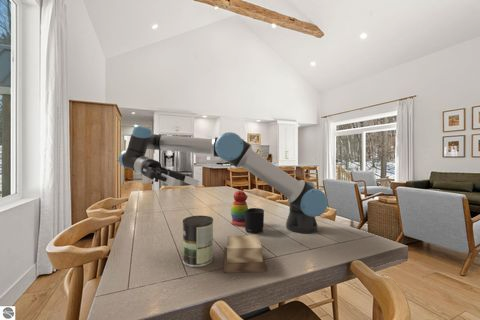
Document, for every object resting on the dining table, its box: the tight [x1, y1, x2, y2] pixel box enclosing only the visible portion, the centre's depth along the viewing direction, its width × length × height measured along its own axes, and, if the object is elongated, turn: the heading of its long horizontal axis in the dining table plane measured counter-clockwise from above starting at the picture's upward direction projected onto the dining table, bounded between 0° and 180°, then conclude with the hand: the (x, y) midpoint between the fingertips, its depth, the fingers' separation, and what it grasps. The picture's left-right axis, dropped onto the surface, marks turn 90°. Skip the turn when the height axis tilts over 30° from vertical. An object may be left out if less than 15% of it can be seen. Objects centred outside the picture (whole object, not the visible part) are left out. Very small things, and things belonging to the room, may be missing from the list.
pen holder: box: [244, 207, 265, 235], centre depth 105 cm, size 9×9×10 cm
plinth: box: [223, 234, 267, 274], centre depth 73 cm, size 13×13×7 cm
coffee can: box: [182, 215, 214, 268], centre depth 75 cm, size 10×10×14 cm
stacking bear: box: [230, 189, 249, 228], centre depth 117 cm, size 11×10×18 cm
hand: (186, 183), depth 81 cm, fingers open, 13 cm apart
